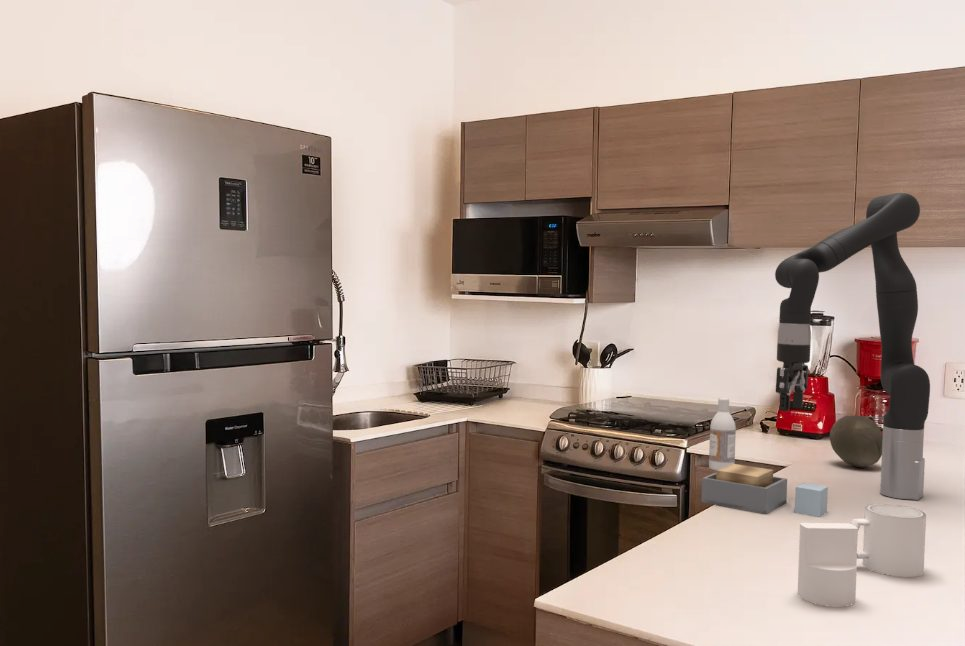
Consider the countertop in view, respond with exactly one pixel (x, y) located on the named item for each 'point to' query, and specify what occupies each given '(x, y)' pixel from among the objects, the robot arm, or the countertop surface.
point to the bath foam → (722, 437)
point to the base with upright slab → (828, 563)
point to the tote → (744, 494)
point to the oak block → (746, 475)
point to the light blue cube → (811, 499)
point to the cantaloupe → (857, 440)
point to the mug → (893, 540)
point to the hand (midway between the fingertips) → (791, 409)
